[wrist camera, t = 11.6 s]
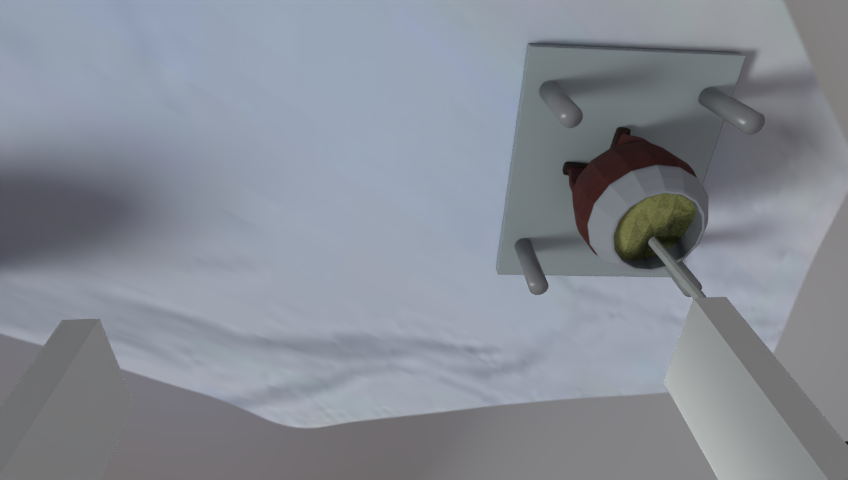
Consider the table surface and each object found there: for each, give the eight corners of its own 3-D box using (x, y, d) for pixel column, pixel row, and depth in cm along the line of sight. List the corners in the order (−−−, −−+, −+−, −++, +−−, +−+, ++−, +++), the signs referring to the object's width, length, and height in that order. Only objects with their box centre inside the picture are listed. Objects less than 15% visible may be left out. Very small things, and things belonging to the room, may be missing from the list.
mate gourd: (571, 114, 34) (677, 237, 21) (690, 128, 35) (861, 256, 22) (542, 219, 38) (617, 377, 25) (650, 230, 39) (776, 388, 26)
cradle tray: (527, 43, 33) (551, 67, 28) (738, 52, 34) (798, 78, 29) (496, 268, 41) (510, 317, 36) (666, 271, 42) (702, 320, 37)
